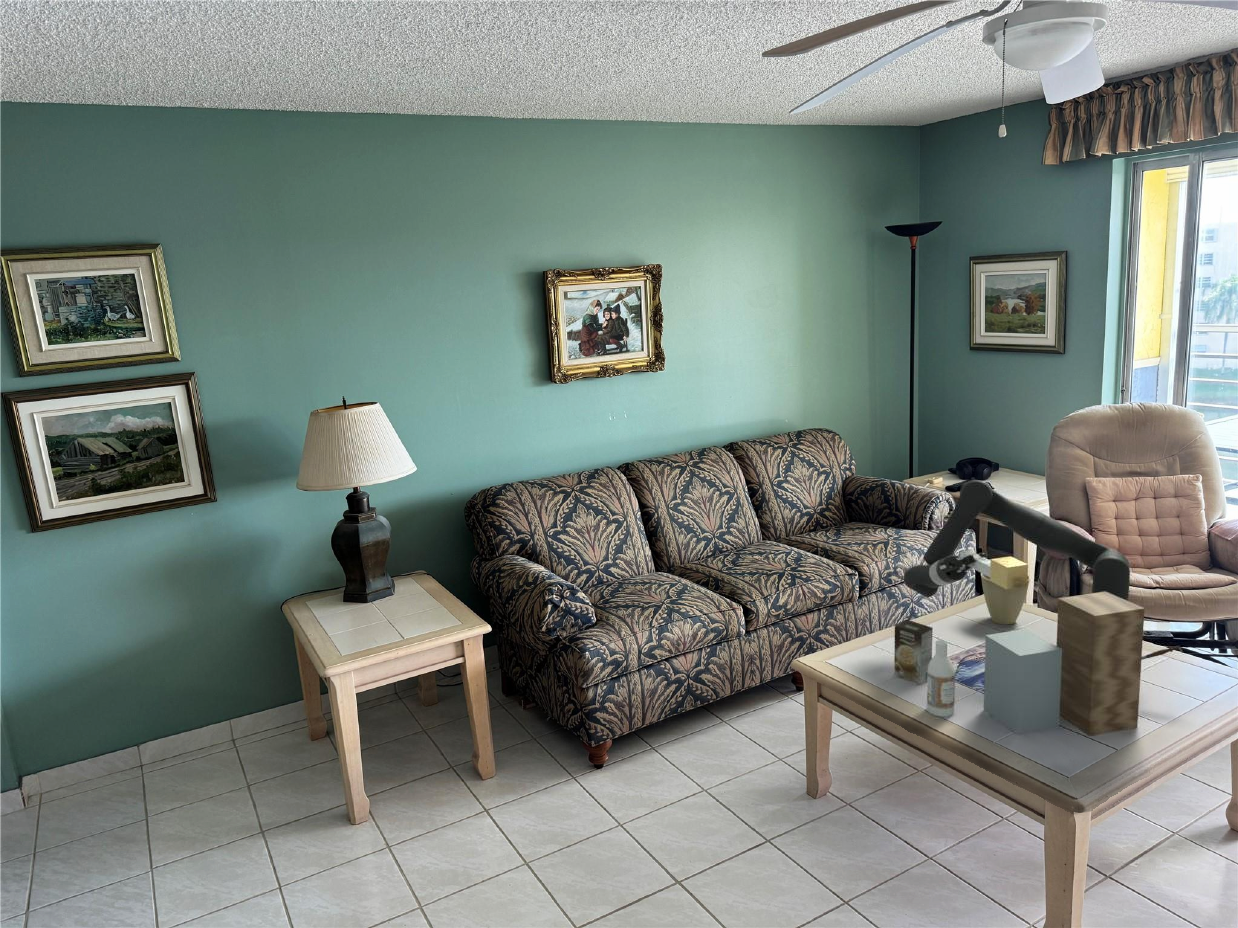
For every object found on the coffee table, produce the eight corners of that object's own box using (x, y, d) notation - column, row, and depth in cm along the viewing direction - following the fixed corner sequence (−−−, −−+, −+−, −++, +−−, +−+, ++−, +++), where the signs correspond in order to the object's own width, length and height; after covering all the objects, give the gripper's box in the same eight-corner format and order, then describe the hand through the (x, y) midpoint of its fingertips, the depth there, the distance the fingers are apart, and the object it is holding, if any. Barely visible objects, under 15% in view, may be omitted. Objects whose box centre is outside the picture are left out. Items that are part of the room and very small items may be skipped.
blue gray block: (1023, 703, 239) (1025, 628, 234) (1058, 727, 225) (1062, 648, 221) (983, 709, 236) (985, 635, 232) (1017, 734, 223) (1019, 655, 219)
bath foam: (936, 719, 233) (937, 648, 229) (922, 707, 240) (922, 639, 236) (959, 715, 234) (960, 645, 230) (944, 703, 241) (945, 635, 237)
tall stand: (1099, 704, 235) (1105, 591, 229) (1137, 727, 223) (1144, 608, 216) (1053, 712, 233) (1058, 598, 226) (1089, 735, 220) (1095, 615, 214)
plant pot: (973, 623, 294) (974, 578, 291) (988, 609, 305) (989, 565, 302) (1020, 632, 284) (1022, 585, 281) (1034, 617, 295) (1035, 572, 292)
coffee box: (892, 675, 260) (892, 624, 256) (905, 669, 263) (905, 618, 260) (920, 685, 252) (920, 633, 249) (933, 678, 256) (933, 626, 253)
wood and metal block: (974, 559, 249) (974, 539, 248) (1027, 586, 227) (1028, 564, 226) (955, 562, 248) (955, 541, 247) (1006, 589, 226) (1007, 567, 225)
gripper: (922, 561, 257) (952, 547, 241) (965, 555, 260) (997, 541, 244) (929, 586, 255) (959, 573, 239) (972, 580, 258) (1005, 567, 242)
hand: (978, 557), depth 242 cm, fingers closed on wood and metal block, 3 cm apart
